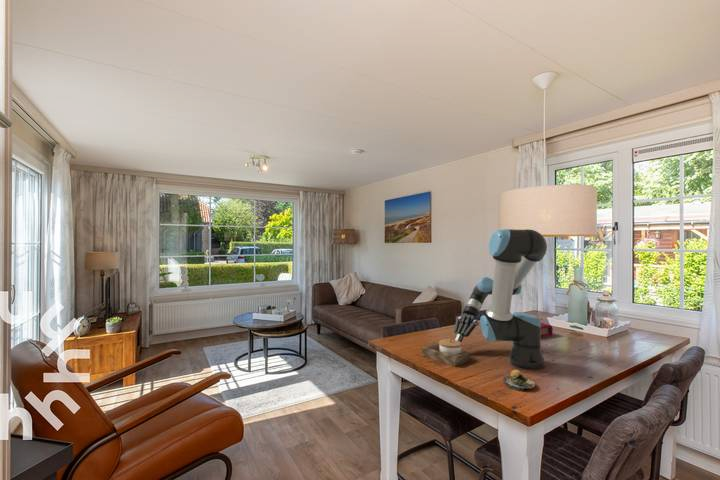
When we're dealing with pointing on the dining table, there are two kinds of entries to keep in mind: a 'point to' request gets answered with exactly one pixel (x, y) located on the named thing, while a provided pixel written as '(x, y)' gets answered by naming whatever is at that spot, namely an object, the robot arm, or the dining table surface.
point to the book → (546, 330)
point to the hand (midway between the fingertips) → (455, 346)
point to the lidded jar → (450, 346)
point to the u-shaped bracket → (444, 355)
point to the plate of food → (517, 381)
